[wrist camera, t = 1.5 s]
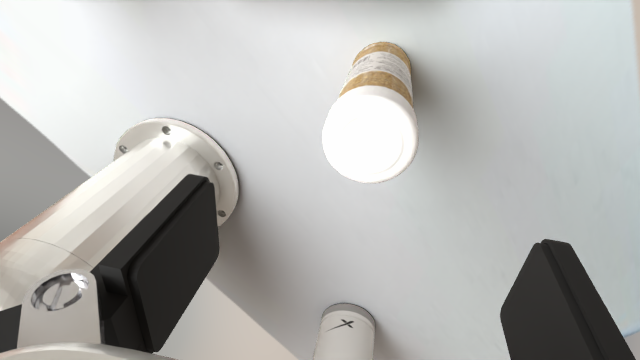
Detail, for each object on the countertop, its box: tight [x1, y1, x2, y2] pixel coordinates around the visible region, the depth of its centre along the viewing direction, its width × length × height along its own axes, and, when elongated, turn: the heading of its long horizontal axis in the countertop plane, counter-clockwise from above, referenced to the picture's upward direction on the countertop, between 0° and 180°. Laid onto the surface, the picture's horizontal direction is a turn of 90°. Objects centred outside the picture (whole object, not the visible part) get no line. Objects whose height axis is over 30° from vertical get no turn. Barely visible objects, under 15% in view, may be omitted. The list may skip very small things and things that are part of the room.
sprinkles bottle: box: [322, 42, 418, 183], centre depth 23 cm, size 5×5×13 cm
